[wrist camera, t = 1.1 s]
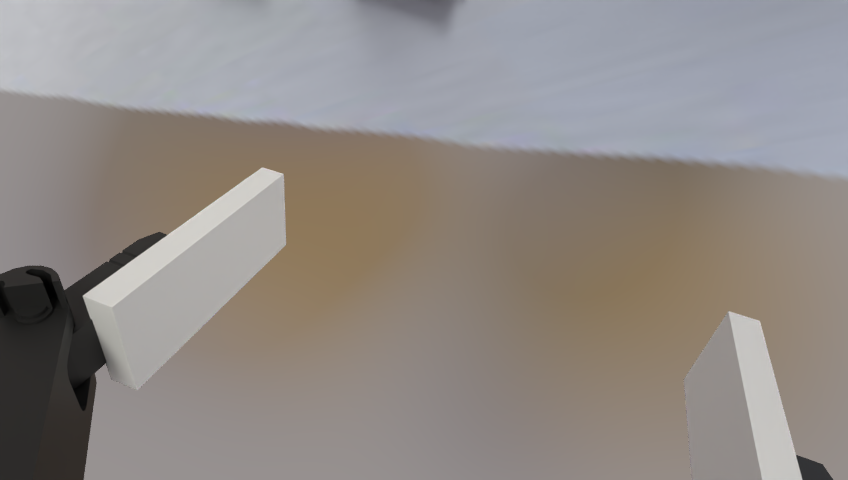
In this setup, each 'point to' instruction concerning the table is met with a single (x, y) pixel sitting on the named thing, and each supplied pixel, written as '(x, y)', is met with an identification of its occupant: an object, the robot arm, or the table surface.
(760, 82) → the table surface
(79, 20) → the table surface
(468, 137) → the table surface
